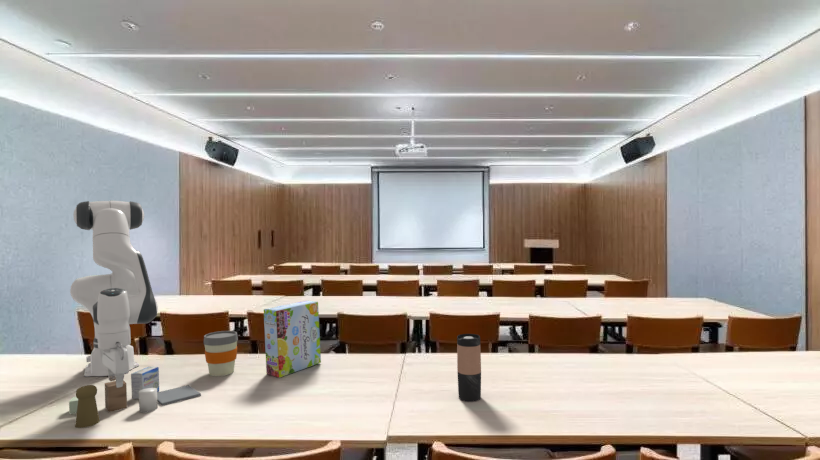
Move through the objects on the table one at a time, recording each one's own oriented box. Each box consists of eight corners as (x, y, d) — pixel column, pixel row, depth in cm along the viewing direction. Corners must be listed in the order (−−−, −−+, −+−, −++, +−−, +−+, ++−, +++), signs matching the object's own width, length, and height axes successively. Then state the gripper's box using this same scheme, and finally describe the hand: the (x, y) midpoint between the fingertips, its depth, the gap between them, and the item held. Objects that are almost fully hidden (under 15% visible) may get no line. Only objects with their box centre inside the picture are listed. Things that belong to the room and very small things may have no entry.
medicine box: (142, 399, 156) (142, 373, 156) (131, 398, 157) (130, 373, 157) (159, 391, 164) (159, 366, 164) (148, 390, 165) (148, 366, 165)
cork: (82, 419, 141) (81, 383, 141) (104, 418, 141) (103, 382, 141) (70, 428, 135) (68, 390, 134) (92, 427, 135) (91, 389, 135)
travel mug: (483, 394, 155) (482, 334, 154) (479, 403, 147) (478, 339, 147) (460, 392, 157) (459, 332, 157) (455, 400, 150) (454, 338, 150)
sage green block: (72, 409, 149) (72, 397, 149) (95, 406, 151) (94, 394, 151) (69, 414, 145) (69, 401, 145) (92, 411, 148) (92, 398, 148)
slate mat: (151, 396, 159) (151, 393, 159) (188, 387, 168) (188, 384, 167) (162, 405, 151) (162, 403, 151) (200, 395, 159) (200, 393, 159)
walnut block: (105, 408, 150) (104, 383, 149) (123, 403, 153) (122, 379, 153) (108, 412, 146) (108, 386, 146) (127, 407, 149) (126, 382, 149)
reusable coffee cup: (205, 379, 175) (204, 340, 175) (203, 370, 186) (202, 333, 186) (240, 374, 181) (239, 335, 181) (236, 365, 192) (235, 329, 192)
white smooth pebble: (137, 409, 148) (136, 390, 148) (154, 405, 151) (154, 386, 151) (141, 413, 144) (141, 394, 144) (159, 409, 148) (159, 390, 148)
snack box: (307, 360, 198) (305, 299, 197) (321, 363, 193) (320, 301, 192) (264, 374, 180) (262, 307, 180) (278, 378, 175) (277, 310, 175)
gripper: (134, 343, 144) (135, 388, 144) (118, 334, 158) (119, 374, 158) (110, 347, 139) (111, 393, 139) (96, 337, 154) (97, 379, 154)
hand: (115, 383), depth 149 cm, fingers open, 8 cm apart
